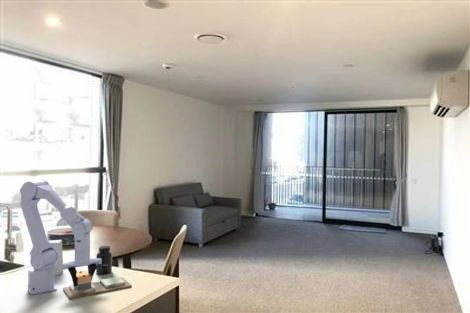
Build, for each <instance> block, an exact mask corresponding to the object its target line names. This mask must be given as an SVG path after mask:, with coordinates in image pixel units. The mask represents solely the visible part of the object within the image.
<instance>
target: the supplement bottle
mask: <svg viewBox="0 0 470 313" xmlns="http://www.w3.org/2000/svg"><path fill="white" fill-rule="evenodd" d="M112 253H113V252H111V247H110V245H102V246H99V247H98V252H97V254H96V258H95V259H97V258H101V259H102V264H96V265H97V269H96V270H95V273H96V274H97V275H100V276H104V275H105V276H106V275H110V274H111V273H112V269H113V254H112Z"/></svg>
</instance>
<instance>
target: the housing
mask: <svg viewBox="0 0 470 313" xmlns="http://www.w3.org/2000/svg"><path fill="white" fill-rule="evenodd" d="M91 283H92V281H91V275H90V274H89V273H88V270H82V271H77V274H76V286H75V288H76V289H77V290H78V291H80V290H86V289H91Z"/></svg>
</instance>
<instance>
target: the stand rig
mask: <svg viewBox="0 0 470 313" xmlns="http://www.w3.org/2000/svg"><path fill="white" fill-rule="evenodd" d="M132 286H133V285H132V283H130V282H128V281H127V280H126V279H125V278H123V277H121V276H114V277H109V278H104V279H103V278H102V279H99V281H95V282H91V289H86V290H80V291H78V290H77V289H76V288H75V287H74V285H73V284H72V285H71V284H70V285H69V286H67V287H63V288H62V291H63V292H64V293H65V295H66V297H67V299H68V300H74V299H75V300H76V299H79V298H80V297H81V298H84V297H85V298H86V297H89V296H94V295H99V294H104V293H109V292H115V291H119V289H120V290H124V289H129V288H132ZM81 298H80V299H81Z"/></svg>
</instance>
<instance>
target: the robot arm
mask: <svg viewBox="0 0 470 313" xmlns="http://www.w3.org/2000/svg"><path fill="white" fill-rule="evenodd" d="M19 193H20V207H21V211H22V214H23V217H24V220H25V223H26V227H27V230H28V233H29V237H30V240H31V244H32V248H31V250H30V252H29V256H30V261H29V262H30V266H31V267H32V269H28V272H27V273H28V274H27V278H28V280H27V290H28V292H29V294H30V295H36V294H42V293H46V292H52V291H57V290H58V288H57V287H56V284H55V275H54V265H55V262H56V261H57V259H58V253H57V251H56V250H55V249H54V247H53V244H51V243H50V242H48V241H49V239H48V237H47V234H46V231H45V227H44V224H43V221H42V217H41V214H40V211H39V207H38V203H40V201H41V200H46V201H47V202H48V203H49V204H50V205H51V206H53V207H54V208H55V209H56V210H58V211H59V215H60V218H61V219H62V220H63V221H64V222H65V223H66V224H67V225H68V226H69V227H70V229H71V233H72V234H73V236H74V237H73V238H74V260H73V261H69V262H63V264H62V269H63V271H64V270H67V271H68V273H69V274H70V277H71V279H72V285H74V287H75V286H76V274H77V272H78V270H77V268H80V267H85V266H86V267H87V272H88V273H89V274H90V275H91V282H92V280H93V277H94V274H95V273H96V269H97V265H96V264H102V259H101V258H97V259H96V258H91V232H92V230H93V228H94V224H93V222H92V220H91V219H89V218H85V217H84V216H83V215H81V213H80V212H78V211H77V208H76V207H75V206H74V207H73V205H71V206H70V205H69V206H68V205H67V204H66V202H64V200H63V199H62V198H61V197H60V196H59V195H58V194H57V193H56V192H55V190H54V188H53V186H52V184H50V183H49V182H48V181H47V180H45V179H41V180H34V181H25V182H24V183H23V184H22V186H21V187H20V189H19Z"/></svg>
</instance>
